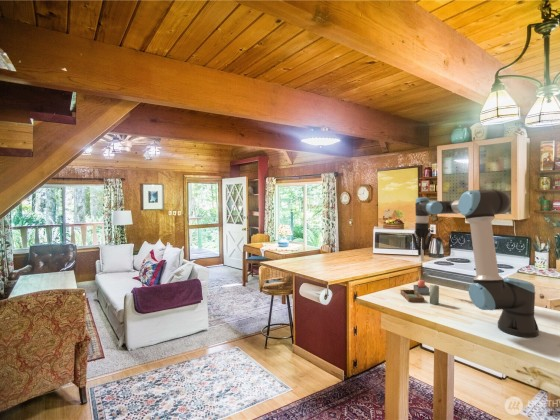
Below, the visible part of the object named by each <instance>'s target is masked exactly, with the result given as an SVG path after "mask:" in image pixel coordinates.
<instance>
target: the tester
mask: <svg viewBox="0 0 560 420" xmlns="http://www.w3.org/2000/svg"><path fill="white" fill-rule="evenodd" d="M413 290H416V291H417V292H418V293H419V294H420V295H430V286H429V287H428V286H427V284H425V288H421V287H418V284H413Z"/></svg>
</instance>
